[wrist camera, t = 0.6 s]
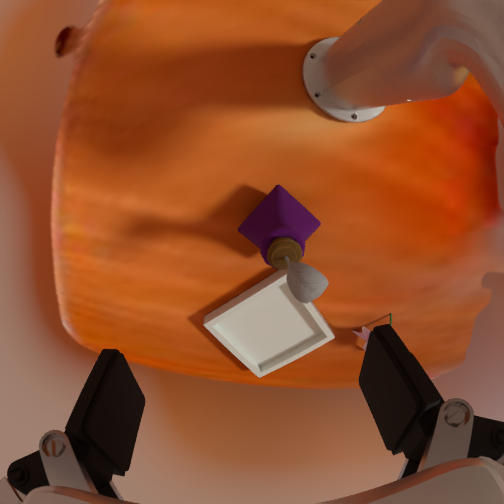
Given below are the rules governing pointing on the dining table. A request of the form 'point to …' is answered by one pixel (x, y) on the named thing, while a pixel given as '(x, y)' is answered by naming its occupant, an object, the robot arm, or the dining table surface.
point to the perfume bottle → (286, 241)
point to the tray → (268, 325)
